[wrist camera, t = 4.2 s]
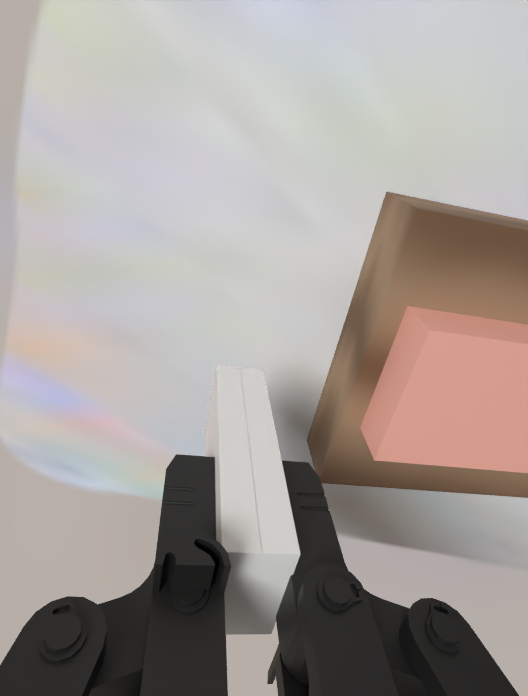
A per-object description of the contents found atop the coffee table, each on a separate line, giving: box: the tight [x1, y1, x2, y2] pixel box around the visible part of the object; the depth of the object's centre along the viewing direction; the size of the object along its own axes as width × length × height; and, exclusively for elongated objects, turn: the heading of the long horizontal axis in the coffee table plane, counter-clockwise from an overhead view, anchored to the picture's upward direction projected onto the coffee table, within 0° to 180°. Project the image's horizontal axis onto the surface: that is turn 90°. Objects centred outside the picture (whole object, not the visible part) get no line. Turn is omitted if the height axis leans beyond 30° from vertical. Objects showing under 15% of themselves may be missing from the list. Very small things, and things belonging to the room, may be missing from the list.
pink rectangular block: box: [360, 306, 528, 473], centre depth 18 cm, size 9×6×2 cm, turn 79°
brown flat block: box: [307, 192, 528, 498], centre depth 21 cm, size 13×18×3 cm
